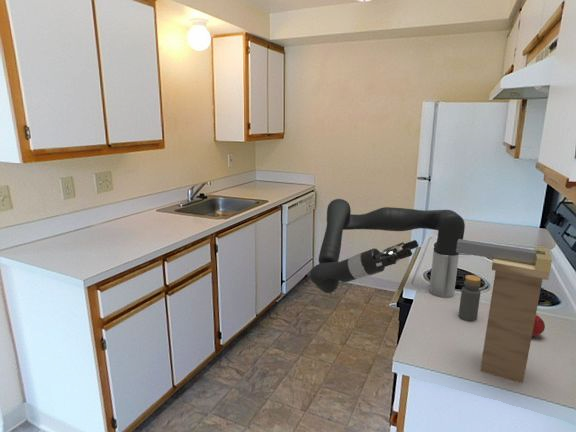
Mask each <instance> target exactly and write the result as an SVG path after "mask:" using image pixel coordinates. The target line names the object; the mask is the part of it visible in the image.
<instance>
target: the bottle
mask: <svg viewBox="0 0 576 432" xmlns="http://www.w3.org/2000/svg"><path fill="white" fill-rule="evenodd" d="M464 278H465V280H464V281H463V285H464V286H462V288H461V293H460V301H459V309H458V317H459V318H460V319H461V320H463V321H466V322H475V321H477V320H478V319H477V318H478V314H479V305H480V300H481V290H480V287H481V280H482V279H481V278H480V277H479V276H477V275H473V274H469V275H468V274H466V275H465V277H464Z"/></svg>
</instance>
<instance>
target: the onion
mask: <svg viewBox="0 0 576 432" xmlns="http://www.w3.org/2000/svg"><path fill="white" fill-rule="evenodd" d="M545 324H546V323H545V322H544V320H543V319H542V317H540V316H539V315H538V314H537V313H536V317H535V322H534V327H533V333H532V337H535V336H540V335H541V334H543V332H544V331H545V329H546V325H545Z"/></svg>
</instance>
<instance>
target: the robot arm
mask: <svg viewBox="0 0 576 432" xmlns="http://www.w3.org/2000/svg"><path fill="white" fill-rule="evenodd" d="M351 209H352V208H351V205H350V203H349V202H348V201H347V200H345V199H342V198H336V199H333V200H331V201H330V202H329V204H328V205H327V209H326V227H325V230H324V231H325V232H324V236H323V240H322V241H321V242H322V243H321V246H320V251H319V254H318V263H317V264H316V265H314V266H313V267H312V268H311V269H310V271H309V273H308V275H309V279H310V281H311V282H312V283H313V284H314V285H315V286H316V287H318V289H319V290H321V291H322V292H323V293H324V294H331V293H333V292H335V291H336V289H337V287H338V286H339V282H342V283H348V282H351V281H354V280H357V279H358V280H359V279H362V278H366V277H370V276H372V275H376V274H379V273H382V272H384V271H385V267H389V266H392V265H395V264H397V262H399V261H400V260H403V259H406V258H409V257H411V256H412V255H413V252H412V250H414V249H416V248H418V247H419V246H420V245H419V242H418V240H415V239H414V240H410V241H407V242H406V243H405V242H403V241H402V242H400V243H398V244H394V245H393V246H389V247H387V248H385V249H384V250H383V251H379V249H378V248H371V249H368V250H366V251H363V252H360V253H357V254H355V255H353V256H352V257H349V258H345V259H343V260H341V261H339V260H340V259H339V258H340V254H341V248H342V241H343V240H342V238H343V231H345V230H350V231H351V230H370V231H371V230H372V231H373V230H375V231H387V232H405V231H413V230H418V229H427V230H435V231H437V239H436V242H435V243H434V245H433V253H432V262H431V263H432V264H431V270H430V281H429V288H428V291H429V292H430V294H432V295H433V296H436V297H441V298H451V297H453V296H454V295H455V291H456V290H455V287H456V281H457V273H458V267H459V265H458V264H459V256H460V253H457V252H456V248H457V241H458V239H463V240H464V235H465V228H466V227H465V226H466V225H465V220H464V218H463V217H462V216H461V215H459V214H458V213H457V212H455V211H454V210H451V209H433V210H430V209H429V210H423V209H412V208H403V207H390V206H389V207H388V206H387V207H386V206H384V207H380V208H377V209H374V210H371V211H369V212H367V213H362V214H361V213H360V214H351ZM400 248H401V249H400Z"/></svg>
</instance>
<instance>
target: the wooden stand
mask: <svg viewBox="0 0 576 432" xmlns="http://www.w3.org/2000/svg"><path fill="white" fill-rule="evenodd" d="M491 271H494V277H493V278H494V279H493V285H492V290H491V298H490V304H489V305H490V306H489V309H488V317H487V322H486V323H487V324H486V331H485V337H484V344H483V350H482V355H481V356H482V358H481V365H480V372H483V373H485V374H489V375H493V376H497V377H499V378H504V379H506V380H509V379H510V381H514V382H516V381H517V382H516V383H520V384H524V379H525V375H526V368H527V365H528V359H529V353H530V347H531V342H532V337H533V336H532V333H533V327H534V322H535V317H536V314H537V310H538V306H539V301H540V295H541V288H542V284H543V280H546V281H549V278H550V272H551V271H550V272H545V271H539V270H535V268H534V265H531V264H525V263H519V262H513V261H506V260H500V259H494V258H492V264H491Z"/></svg>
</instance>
